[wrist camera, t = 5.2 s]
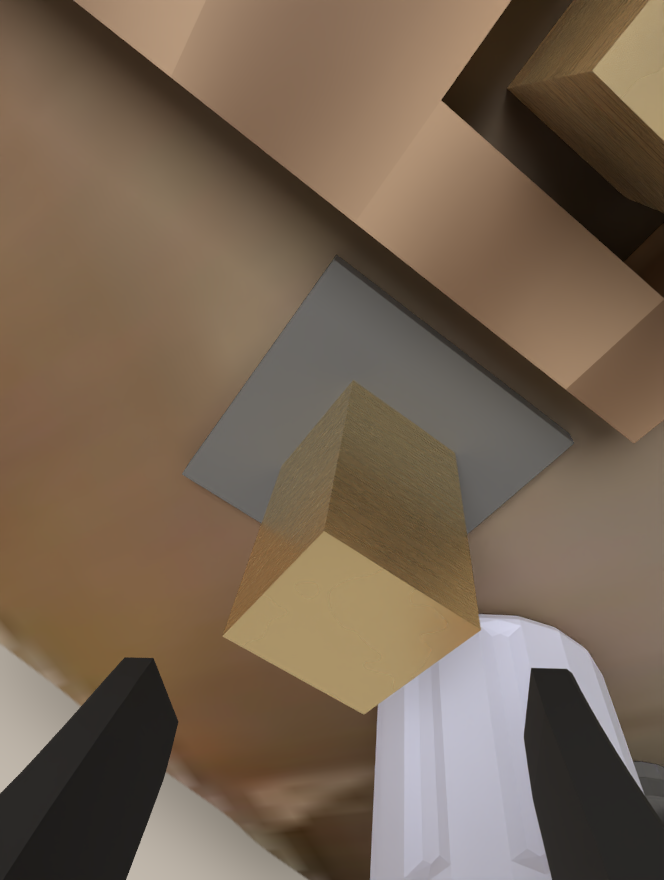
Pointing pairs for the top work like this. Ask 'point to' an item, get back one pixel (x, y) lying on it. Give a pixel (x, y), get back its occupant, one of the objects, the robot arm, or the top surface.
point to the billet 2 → (605, 91)
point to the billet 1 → (359, 557)
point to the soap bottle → (472, 757)
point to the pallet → (421, 172)
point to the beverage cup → (652, 785)
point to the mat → (387, 377)
